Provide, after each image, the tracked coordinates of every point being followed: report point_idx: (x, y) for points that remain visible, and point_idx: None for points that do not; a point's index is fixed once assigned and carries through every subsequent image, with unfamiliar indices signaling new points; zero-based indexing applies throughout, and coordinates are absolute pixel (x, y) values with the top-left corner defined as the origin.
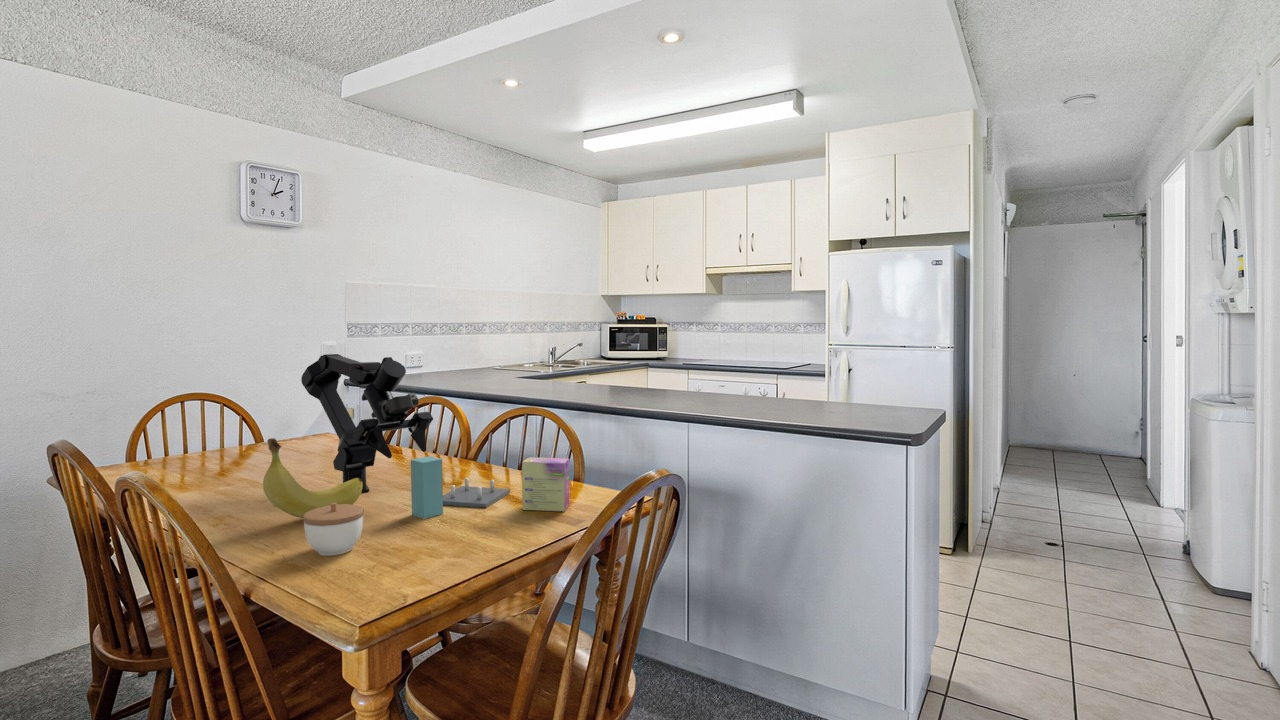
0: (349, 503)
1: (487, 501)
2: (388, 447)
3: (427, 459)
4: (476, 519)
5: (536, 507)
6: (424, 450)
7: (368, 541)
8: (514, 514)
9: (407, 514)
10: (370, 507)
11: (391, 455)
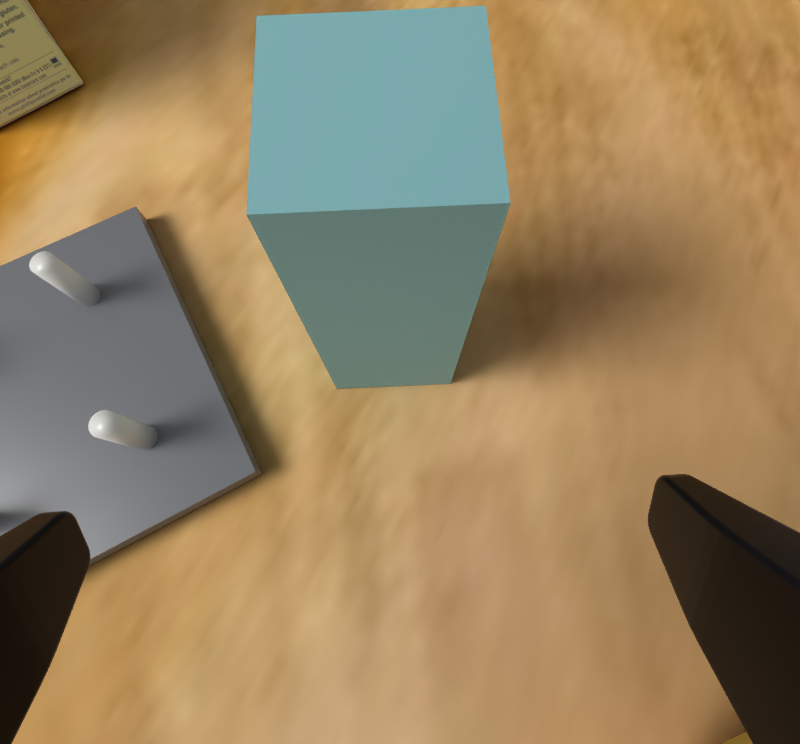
0: (738, 739)
1: (98, 235)
2: (785, 564)
3: (369, 91)
4: None
5: (48, 32)
6: (76, 526)
7: (753, 189)
8: (145, 73)
9: (461, 409)
10: (556, 730)
11: (672, 476)
